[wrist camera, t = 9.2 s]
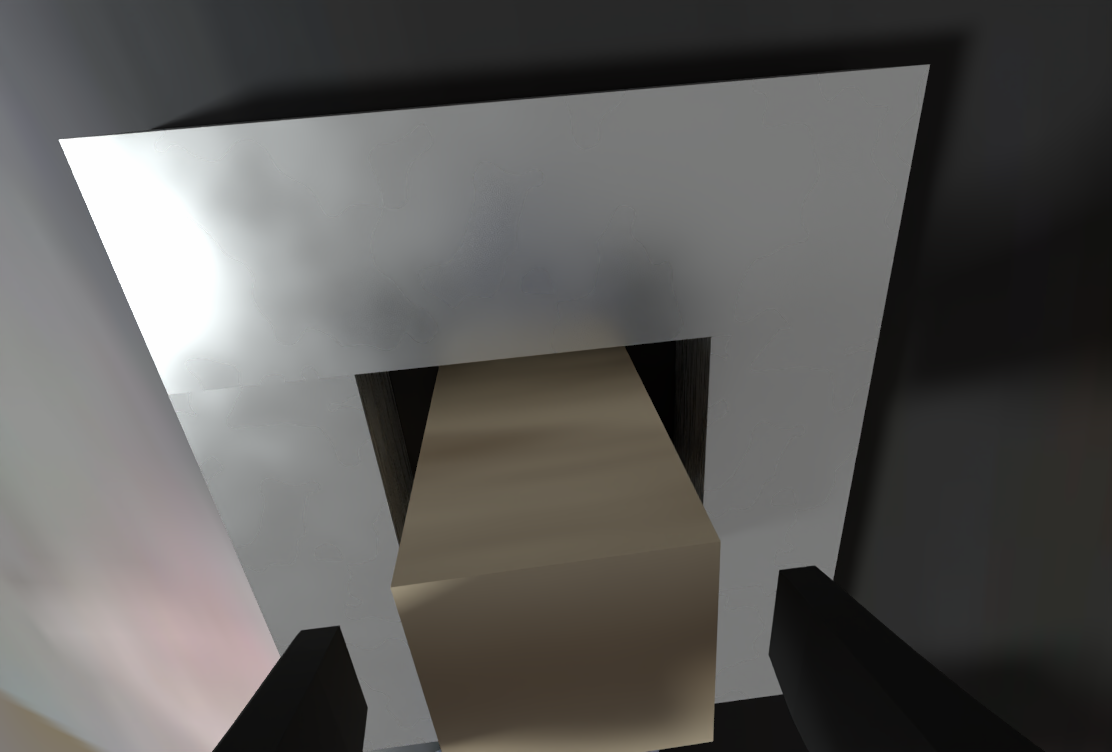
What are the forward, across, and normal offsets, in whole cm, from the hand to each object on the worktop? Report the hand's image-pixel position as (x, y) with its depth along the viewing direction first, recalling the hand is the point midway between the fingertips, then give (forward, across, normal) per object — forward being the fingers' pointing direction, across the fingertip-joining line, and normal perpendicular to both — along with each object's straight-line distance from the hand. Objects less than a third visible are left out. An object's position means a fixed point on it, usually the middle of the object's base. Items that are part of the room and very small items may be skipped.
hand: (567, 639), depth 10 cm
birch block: (+6, 0, 0) cm, 6 cm away
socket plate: (+6, 0, 0) cm, 6 cm away
